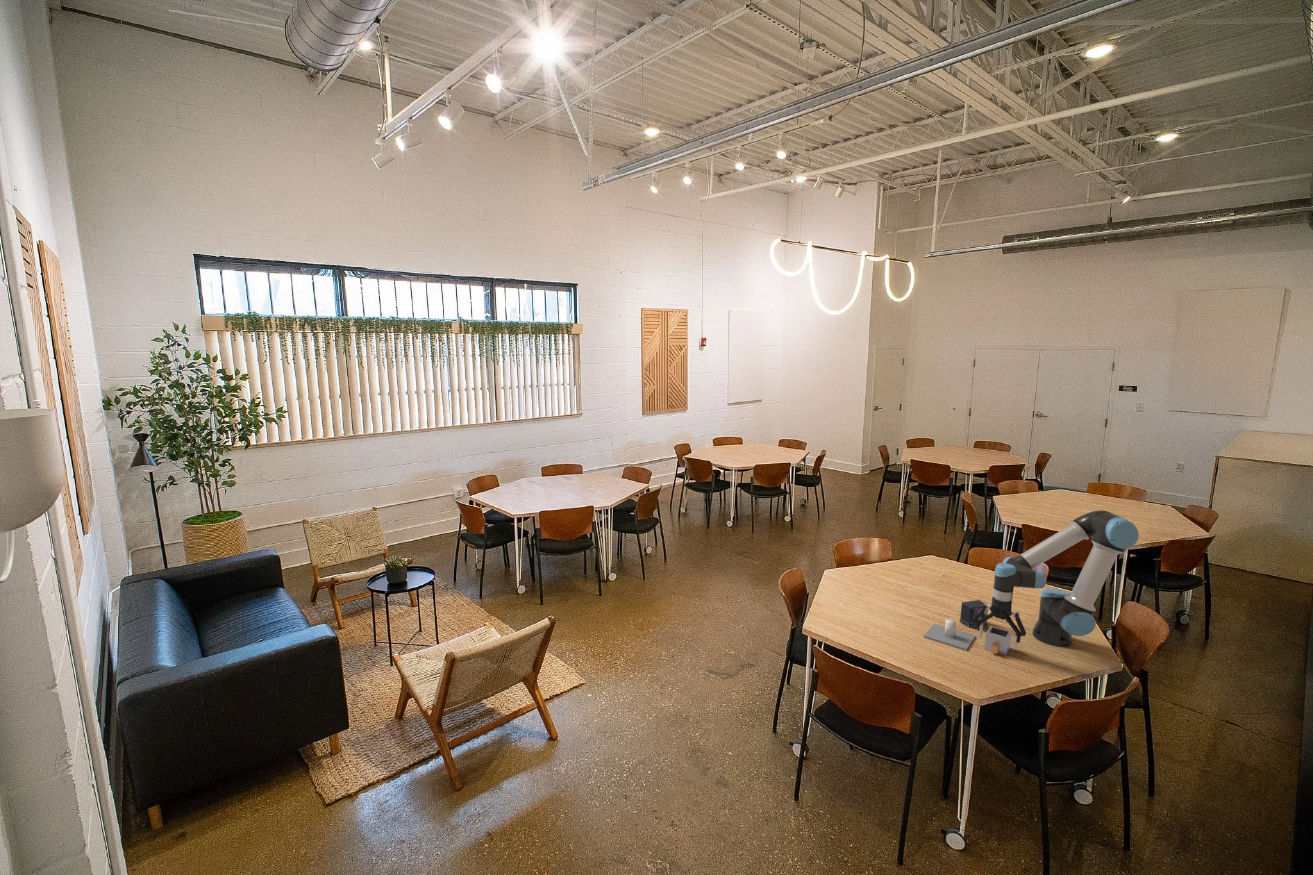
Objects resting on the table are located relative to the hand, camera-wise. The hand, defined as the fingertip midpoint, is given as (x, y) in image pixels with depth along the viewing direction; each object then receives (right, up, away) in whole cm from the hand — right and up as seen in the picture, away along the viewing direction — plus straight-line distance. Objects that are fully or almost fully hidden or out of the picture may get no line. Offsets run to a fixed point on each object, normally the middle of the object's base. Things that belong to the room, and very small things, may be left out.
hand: (997, 643), depth 256 cm
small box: (+2, +1, +24) cm, 24 cm away
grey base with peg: (-16, -1, +10) cm, 19 cm away
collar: (-1, -3, -1) cm, 3 cm away
